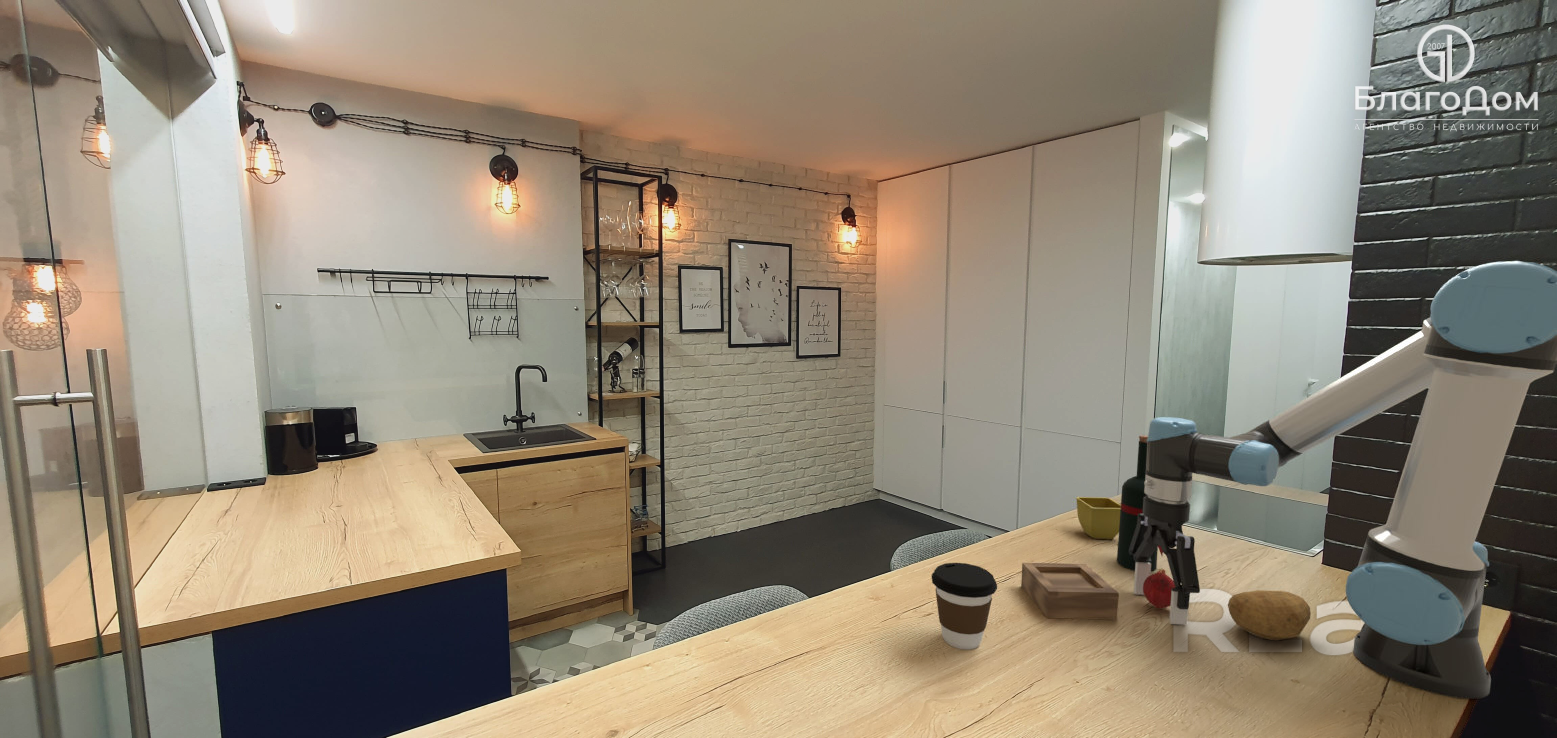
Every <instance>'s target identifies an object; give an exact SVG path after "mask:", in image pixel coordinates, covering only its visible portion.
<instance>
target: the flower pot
mask: <svg viewBox="0 0 1557 738" xmlns="http://www.w3.org/2000/svg"><path fill="white" fill-rule="evenodd" d="M1075 499H1076V508H1077V509H1076V510H1077V518H1078V522H1079V524H1080V526H1081V529H1082V530H1083V532H1084V533H1085V534H1087V535H1088V536H1090V537H1091V538H1092V539H1096V540H1097V539H1099V540H1100V539H1101V540H1112V539H1115V537H1116V536H1117V535H1119V523H1120V510H1121V503H1119V502H1117V501H1115V500H1113V499H1111V498H1110V497H1098V496H1097V497H1093V496H1091V497H1090V496H1089V497H1087V496H1085V497H1083V496H1077V497H1076V498H1075Z"/></svg>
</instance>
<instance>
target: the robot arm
mask: <svg viewBox="0 0 1557 738" xmlns="http://www.w3.org/2000/svg"><path fill="white" fill-rule="evenodd" d="M1556 366H1557V270H1555V269H1553V268H1551V267H1549V266H1546V265H1542V264H1539V263H1537V262H1529V261H1520V260H1511V261H1508V260H1507V261H1500V260H1499V261H1495V262H1487V263H1483V264H1479V265H1476V266H1473V267H1470V268H1468V269H1466V270H1464V271H1461V272H1460V273H1458V274H1457V275H1455V276H1453V277H1451V278H1450V279H1449V280H1448V281H1447V282H1445V283H1444V284H1443V285H1442V286H1441V287H1440V289H1439V290H1438V291H1437V292H1436V294H1435V296H1434V297H1433V298H1432V302H1431V304H1430V315H1429V317H1428V318H1425V319H1424V320H1423V322H1422V329H1421V330H1420V331H1418V332H1416V333H1415V334H1413V335H1411V336H1409V337H1408V338H1406V339H1404V340H1402V341H1401V342H1399V343H1398V344H1396V345H1394V346H1393V347H1390V348H1389V349H1387V350H1386V351H1384V352H1382V353H1380V354H1379V355H1377V356H1375V357H1374V358H1372V359H1370V360H1368V361H1367V362H1365V363H1363V364H1362V365H1360V366H1358V367H1356V368H1355V369H1353V370H1351V371H1350V372H1349V373H1346V374H1345V375H1343V376H1341V377H1340V378H1338V379H1336V380H1334V381H1333V382H1331V383H1330V384H1328V385H1326V386H1324V387H1322V388H1321V389H1319V390H1317V391H1315V392H1314V393H1312V394H1311V395H1309V396H1307V397H1305V398H1304V399H1302V400H1300V401H1299V402H1297V403H1295V404H1294V405H1291V406H1290V407H1289V408H1287V409H1285V410H1283V411H1282V412H1279V413H1278V414H1277V415H1275V416H1274V417H1271V418H1270V419H1269V420H1267V421H1265V422H1262V423H1261V424H1258V425H1257V426H1255V427H1254V428H1253V429H1251V430H1249V431H1247V432H1245V433H1241V434H1237V435H1235V436H1231V437H1230V436H1229V437H1228V436H1222V435H1220V436H1219V435H1211V434H1206V433H1202V432H1198V430H1197V424H1196V422H1194V420H1191V419H1185V418H1181V417H1169V416H1164V417H1163V416H1161V417H1154V418H1153V419H1152V420H1151V421H1150V423H1149V426H1148V434H1147V436H1148V439H1147V461H1146V478H1145V482H1144V484H1145V490H1144V492H1145V494H1146V496H1145V497H1144V500H1143V513H1139V514H1138V519H1137V526H1136V529H1135V532H1134V535H1133V538H1132V541H1131V544H1130V547H1129V554H1132V555H1133V558H1134V560H1135V571H1134V582H1133V594H1135V595H1143V596H1145V595H1144V593H1143V584H1144V581H1145V579H1146V578H1147V577H1149V576H1150V575H1152V574H1151V573H1152V572H1151V564H1150V563H1148V562H1146V561H1152V560H1151V558H1150V557H1151V556H1152V554H1153V553H1154V551H1155V550H1156V548H1157V547H1158V545H1160V546H1161V547H1162V551H1163V554H1164V553H1165V554H1166V555H1165V554H1164V555H1165V556H1166V559H1167V563H1168V567H1169V570H1170V574H1171V577H1172V578H1171V579H1172V580H1173V581H1174V585H1175V588H1172V592H1171V606H1169V608H1170V609H1169V619H1168V620H1169V621H1168V622H1169V623H1170V624H1171V625H1187V623H1188V613H1189V612H1188V611H1189V608H1190V598H1191V594H1200V593H1201V588H1200V582H1199V575H1198V568H1197V561H1196V556H1195V555H1196V554H1195V542H1196V541H1195V538H1194V536H1191V535H1188V536H1187V535H1185V534H1184V533H1183V532H1184V531H1183V525H1184V524H1186V523H1188V522H1189V520H1190V513H1191V511H1190V509H1191V504H1190V503H1189V501H1191V500H1192V488H1193V474H1196V475H1201V476H1206V477H1211V478H1215V479H1220V480H1224V481H1229V482H1234V483H1239V484H1241V485H1244V486H1245V485H1246V486H1247V485H1248V486H1249V485H1251V486H1257V487H1267V486H1270V485H1271V484H1272V483H1273V480H1275V478H1276V476H1277V475H1278V470H1279V468H1280V467H1284V466H1285V465H1286V464H1287V463H1288V462H1289V461H1291V460H1294V459H1296V458H1298V457H1299V456H1301V455H1302V454H1304V453H1306V452H1308V451H1310V450H1312V449H1313V448H1315V447H1317V446H1319V445H1321V444H1323V443H1325V442H1327V441H1329V440H1331V439H1332V438H1335V437H1336V436H1339V435H1340V434H1342V433H1344V432H1346V431H1348V430H1350V429H1352V428H1354V427H1356V426H1357V425H1359V424H1362V423H1363V422H1365V421H1367V420H1369V419H1371V418H1372V417H1374V416H1377V415H1378V414H1380V413H1383V412H1384V411H1386V410H1388V409H1390V408H1392V407H1394V406H1395V405H1398V404H1400V403H1401V402H1403V401H1406V400H1407V399H1409V398H1412V397H1413V396H1415V395H1417V394H1419V393H1420V392H1422V391H1424V390H1426V389H1428V390H1427V394H1426V396H1425V399H1424V403H1423V407H1422V410H1421V412H1420V415H1419V419H1418V421H1417V422H1418V423H1417V424H1416V429H1415V432H1414V435H1413V439H1412V441H1411V443H1410V448H1409V451H1408V454H1407V458H1406V461H1405V463H1404V467H1403V469H1402V474H1401V476H1400V480H1399V482H1398V487H1397V489H1396V492H1395V494H1394V498H1393V502H1392V505H1391V507H1390V510H1389V514H1388V518H1387V521H1386V524H1384V525H1381V526H1377V527H1374V528H1371V529H1369V531H1368V533H1367V537H1366V540H1365V543H1364V545H1363V549H1362V552H1361V555H1360V558H1359V561H1358V565H1357V566H1356V567H1355V568H1354V569H1353V570H1351V572H1350V573H1349V574H1348V576H1347V579H1346V584H1345V596H1346V599H1347V602H1348V604H1349V606H1350V608H1351V609H1352V611H1353V612H1354V613H1355V615H1357V616H1358V618H1359V619H1360V620H1361V621H1362V622H1363V625H1362V627H1361V629H1360V632H1358V633H1357V634H1356V635H1355V637H1354V641H1353V650H1352V651H1353V654H1354V656H1355V658H1357V659H1358V660H1359V661H1360V662H1361V663H1363V664H1364V665H1365V666H1366V667H1368V668H1370V669H1372V670H1373V671H1375V672H1377V673H1378V674H1380V675H1383V676H1385V677H1387V678H1389V679H1391V680H1394V681H1396V682H1399V683H1402V684H1403V685H1407V686H1408V687H1409V686H1410V687H1413V688H1415V689H1418V690H1421V691H1425V692H1429V693H1432V694H1437V695H1442V696H1446V697H1451V698H1458V699H1467V700H1468V699H1472V700H1473V699H1475V700H1476V699H1477V700H1478V699H1482V698H1485V697H1488V696H1489V694H1490V692H1491V682H1492V678H1491V674H1490V672H1489V670H1488V669H1487V667H1486V665H1485V661H1484V656H1483V652H1482V648H1481V646H1480V645H1481V644H1480V642H1479V631H1480V623H1481V616H1482V615H1481V614H1482V607H1483V606H1482V605H1483V599H1484V598H1483V597H1484V592H1485V591H1484V590H1485V589H1484V588H1485V581H1486V575H1487V574H1486V573H1487V567H1489V566H1490V561H1488V554H1489V553H1488V549H1487V548H1486V546H1485V545H1483V543H1480V542H1479V541H1476V539H1477V537H1478V534H1479V531H1480V527H1481V524H1482V521H1483V519H1484V516H1485V514H1486V510H1487V507H1488V505H1489V502H1490V500H1491V496H1492V493H1493V490H1494V487H1495V484H1496V482H1497V479H1498V476H1499V473H1500V470H1501V467H1502V465H1503V462H1504V459H1505V455H1506V454H1507V450H1508V447H1509V444H1510V442H1511V439H1512V435H1513V433H1514V430H1515V427H1516V425H1517V421H1518V419H1519V416H1520V412H1521V410H1522V407H1523V405H1524V401H1525V398H1526V395H1527V392H1528V390H1529V387H1530V384H1531V383H1532V382H1534V381H1535V380H1538V379H1541V378H1543V377H1546V376H1548V375H1550V374H1552V373H1554V372H1555V368H1556ZM1136 547H1138V549H1136Z"/></svg>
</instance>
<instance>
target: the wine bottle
mask: <svg viewBox="0 0 1557 738" xmlns="http://www.w3.org/2000/svg"><path fill="white" fill-rule="evenodd" d="M1138 438H1139V440H1138V449H1137V451H1138V452H1137V462H1136V463H1137V465H1136V475H1135V476H1132V477H1130V478H1128V479H1127V480H1126V481H1124V483H1123V484H1122V486H1121V496H1120V497H1121V498H1120V505H1121V510H1120V523H1119V533H1118V536H1117V537H1118V539H1117V540H1118V541H1117V553H1116V562H1117V564H1118V565H1119V566H1122V567H1123V568H1126V569H1128V570H1131V571H1134V572H1135V560H1134V558H1133V555H1132V554H1129V547H1130V544H1131V541H1132V538H1133V535H1134V532H1135V529H1136V526H1137V519H1138V514H1139V513H1143V500H1144V497H1145V496H1146V494H1145V492H1144V490H1145V484H1144V482H1145V478H1146V461H1147V439H1148V435H1139V436H1138ZM1136 549H1138V547H1136ZM1158 551H1159V552H1160V555H1161V556H1163V555H1165V556H1166V554H1165V553H1163V551H1162V547H1161V546H1160V545H1158V547H1157V548H1156V550H1155V551H1154V553H1153V554H1152V556H1151V557H1150V558H1151V560H1152V561H1146V562H1148V563H1150V564H1151V573H1152V572H1154V571H1156V570H1157V566H1158V553H1159V552H1158Z"/></svg>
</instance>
